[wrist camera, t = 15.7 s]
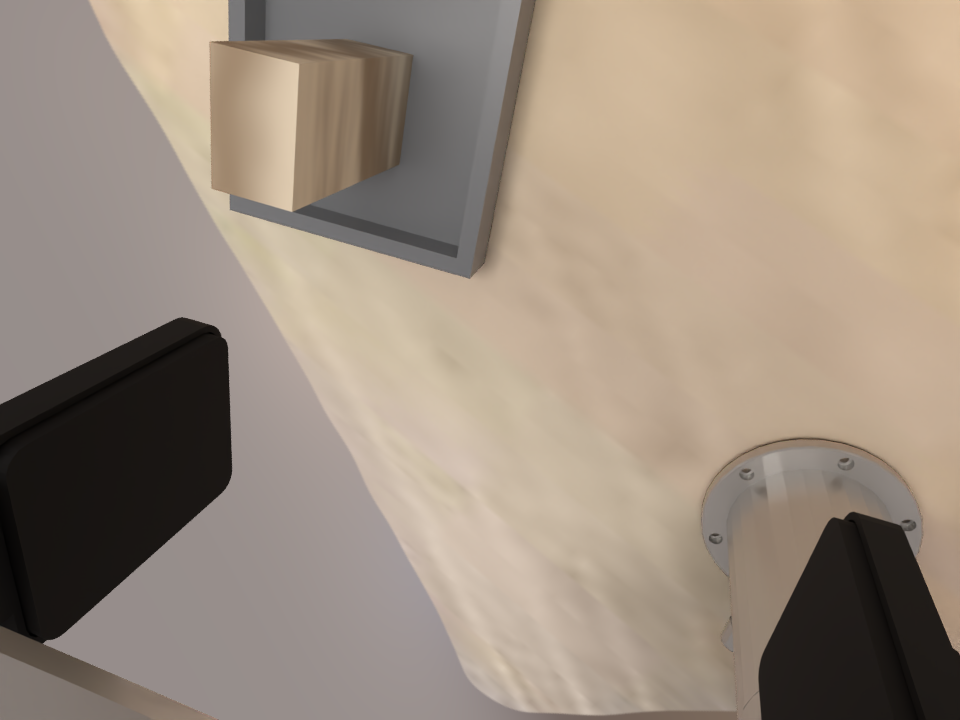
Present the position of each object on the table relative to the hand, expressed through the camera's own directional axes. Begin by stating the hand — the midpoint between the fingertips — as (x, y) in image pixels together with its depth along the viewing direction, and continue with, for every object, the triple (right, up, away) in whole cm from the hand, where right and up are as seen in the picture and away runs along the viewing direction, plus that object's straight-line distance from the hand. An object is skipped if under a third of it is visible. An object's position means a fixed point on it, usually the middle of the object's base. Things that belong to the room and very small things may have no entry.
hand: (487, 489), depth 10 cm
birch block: (-6, +17, +28) cm, 33 cm away
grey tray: (-6, +17, +29) cm, 34 cm away
